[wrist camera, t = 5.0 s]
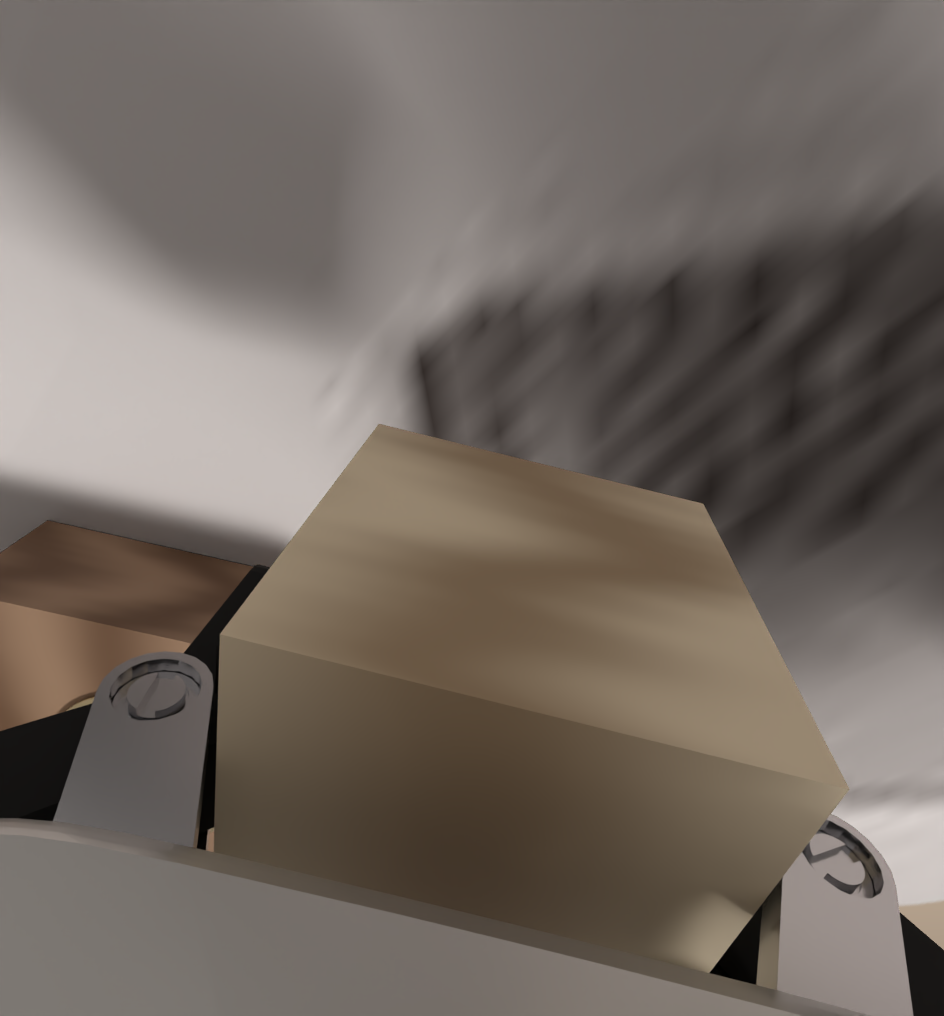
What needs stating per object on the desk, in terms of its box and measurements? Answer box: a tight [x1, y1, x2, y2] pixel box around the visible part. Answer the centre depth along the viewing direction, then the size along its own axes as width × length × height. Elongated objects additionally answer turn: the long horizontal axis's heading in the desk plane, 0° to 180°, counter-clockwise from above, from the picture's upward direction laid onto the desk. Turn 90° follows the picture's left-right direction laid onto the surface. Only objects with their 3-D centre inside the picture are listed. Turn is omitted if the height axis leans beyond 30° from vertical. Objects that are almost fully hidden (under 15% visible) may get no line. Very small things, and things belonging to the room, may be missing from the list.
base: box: [0, 520, 253, 852], centre depth 27 cm, size 14×14×5 cm
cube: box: [214, 424, 849, 973], centre depth 10 cm, size 6×6×6 cm
